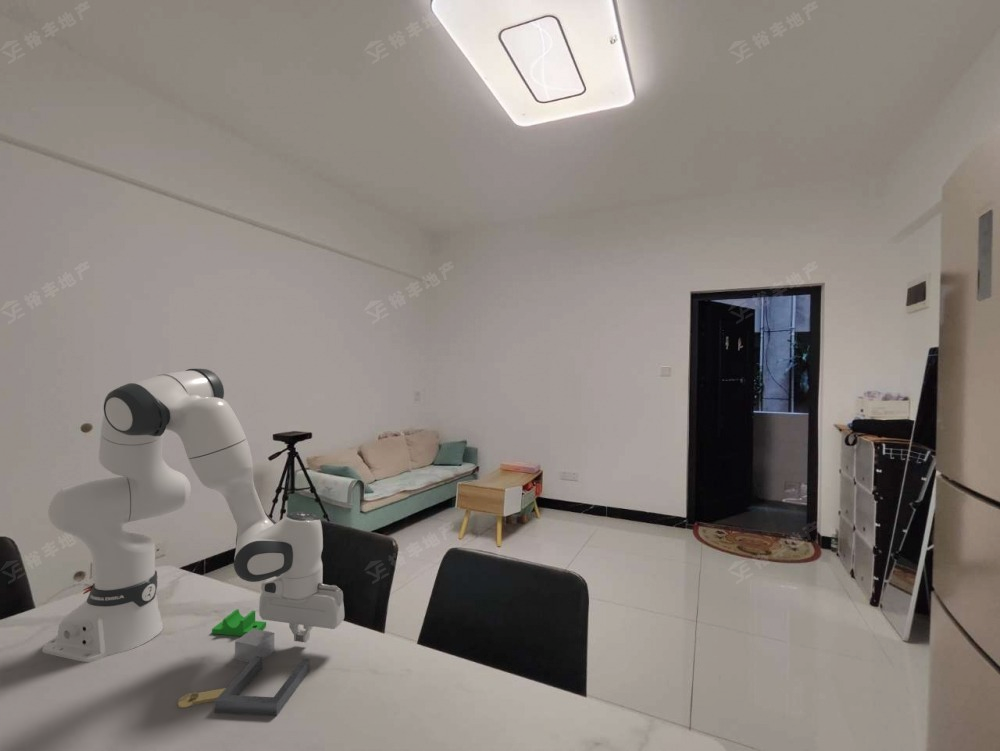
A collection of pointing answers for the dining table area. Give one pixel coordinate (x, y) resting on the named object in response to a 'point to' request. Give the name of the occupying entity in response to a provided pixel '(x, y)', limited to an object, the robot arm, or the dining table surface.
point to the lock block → (254, 645)
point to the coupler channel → (253, 704)
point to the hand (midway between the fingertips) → (301, 640)
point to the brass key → (199, 698)
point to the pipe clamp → (238, 624)
